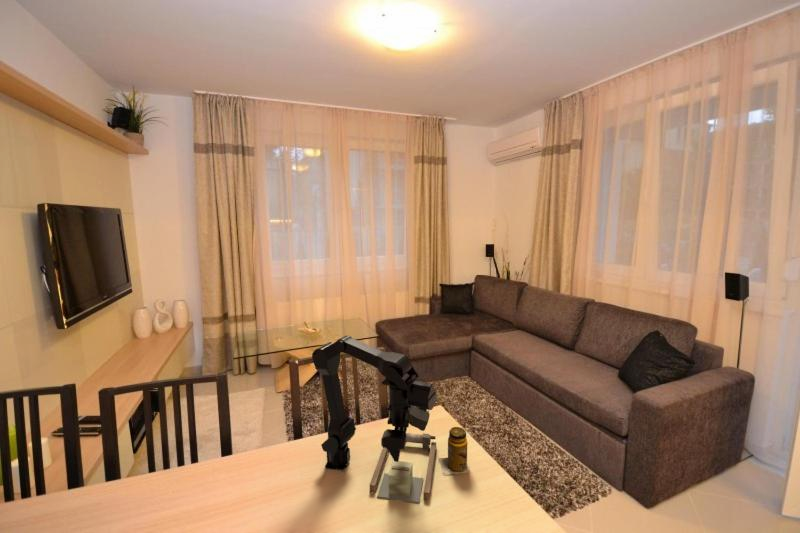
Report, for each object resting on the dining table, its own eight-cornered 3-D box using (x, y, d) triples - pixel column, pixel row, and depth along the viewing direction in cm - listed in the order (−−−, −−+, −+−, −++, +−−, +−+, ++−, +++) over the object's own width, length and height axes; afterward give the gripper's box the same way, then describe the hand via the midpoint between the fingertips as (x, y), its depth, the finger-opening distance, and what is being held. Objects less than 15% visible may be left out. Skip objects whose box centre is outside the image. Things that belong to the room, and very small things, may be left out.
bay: (369, 492, 103) (369, 478, 102) (387, 440, 126) (387, 428, 125) (429, 500, 100) (429, 485, 99) (436, 445, 123) (436, 433, 122)
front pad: (377, 497, 101) (377, 496, 101) (384, 474, 110) (384, 473, 110) (419, 503, 99) (419, 502, 99) (423, 479, 108) (423, 478, 108)
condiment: (471, 472, 110) (471, 437, 108) (444, 475, 109) (444, 440, 107) (463, 456, 117) (464, 423, 115) (438, 459, 116) (438, 425, 114)
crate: (388, 493, 102) (388, 474, 101) (392, 478, 108) (392, 459, 107) (409, 496, 101) (409, 476, 100) (412, 480, 107) (412, 461, 106)
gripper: (423, 422, 90) (423, 477, 92) (431, 386, 108) (431, 433, 110) (380, 418, 92) (381, 472, 95) (395, 383, 110) (395, 429, 113)
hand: (399, 450), depth 103 cm, fingers open, 9 cm apart
